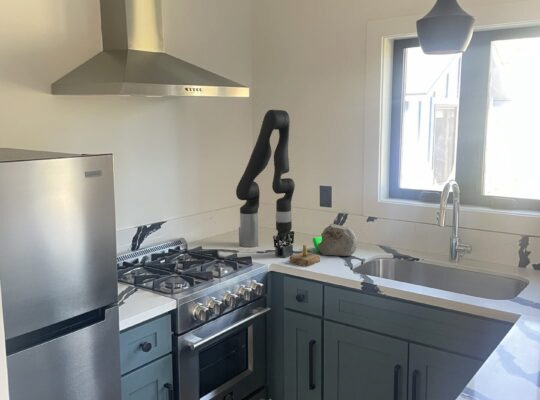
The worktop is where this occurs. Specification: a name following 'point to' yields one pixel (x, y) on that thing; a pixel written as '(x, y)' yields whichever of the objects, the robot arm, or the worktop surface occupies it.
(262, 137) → the robot arm
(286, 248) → the link
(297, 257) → the keeper
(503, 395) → the worktop surface
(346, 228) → the stone
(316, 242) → the bracket
